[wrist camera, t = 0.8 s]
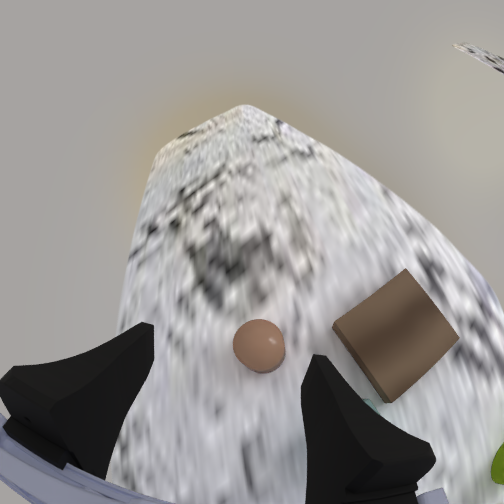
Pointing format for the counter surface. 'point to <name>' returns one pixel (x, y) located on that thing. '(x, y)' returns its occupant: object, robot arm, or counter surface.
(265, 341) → the tan round knob
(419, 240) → the counter surface
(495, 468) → the soap dispenser
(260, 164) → the counter surface
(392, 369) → the base
